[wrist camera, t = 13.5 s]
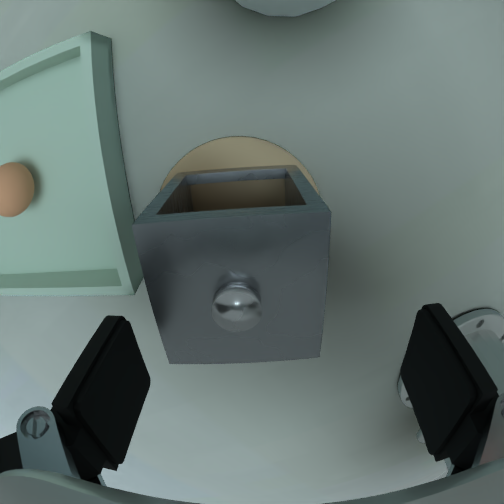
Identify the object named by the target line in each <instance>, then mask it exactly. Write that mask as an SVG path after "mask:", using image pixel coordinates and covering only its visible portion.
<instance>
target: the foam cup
mask: <svg viewBox="0 0 504 504" xmlns="http://www.w3.org/2000/svg"><path fill="white" fill-rule="evenodd" d="M235 1H236V2H238V3H239V4H240V5H241V6H242V7H244V8H247V9H250V10H253V11H256V12H259V13H261V14H264V15H267V16H290V17H297V16H300V15H303V14H305V13H308V12H311V11H314V10H317V9H320V8H321V7H324V6H326V5H328V4H330V3H332V2H334V1H336V0H235Z"/></svg>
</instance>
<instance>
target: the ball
mask: <svg viewBox="0 0 504 504" xmlns="http://www.w3.org/2000/svg"><path fill="white" fill-rule="evenodd" d="M33 195H34V180H33V177H32V174H31V173H30V171H29V170H28V169H27V168H26V167H25V166H24V165H22V164H20V163H16V162H9V163H5V164H3V165H1V166H0V215H1V216H4V217H14V216H17V215H19V214H21V213H22V212H24V211H25V210H26V209H27V207H28V206H29V205H30V203H31V201H32V198H33Z"/></svg>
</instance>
